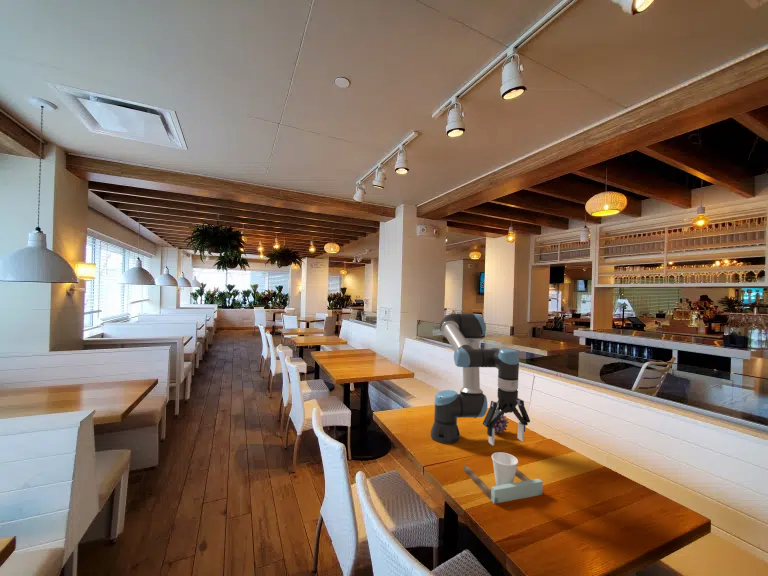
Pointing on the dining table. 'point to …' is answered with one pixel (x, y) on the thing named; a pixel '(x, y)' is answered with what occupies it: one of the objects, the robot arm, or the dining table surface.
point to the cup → (504, 467)
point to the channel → (483, 485)
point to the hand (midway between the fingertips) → (506, 441)
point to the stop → (516, 490)
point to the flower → (501, 424)
